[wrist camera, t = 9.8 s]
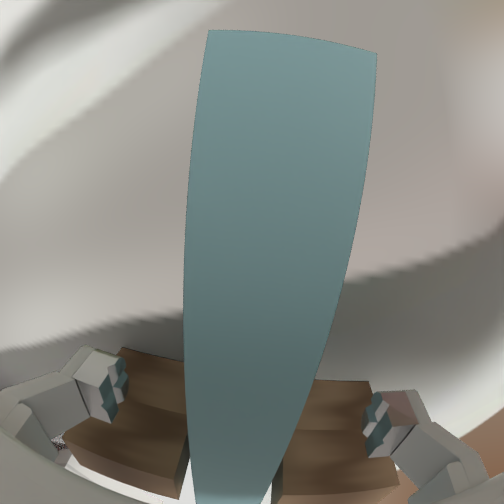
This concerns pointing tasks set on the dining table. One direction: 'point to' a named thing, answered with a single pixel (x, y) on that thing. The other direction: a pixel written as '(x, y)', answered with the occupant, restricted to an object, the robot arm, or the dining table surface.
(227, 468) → the plank
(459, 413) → the dining table surface
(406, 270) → the dining table surface
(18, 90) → the dining table surface
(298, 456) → the brown wooden angled block
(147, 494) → the pizza boxes
